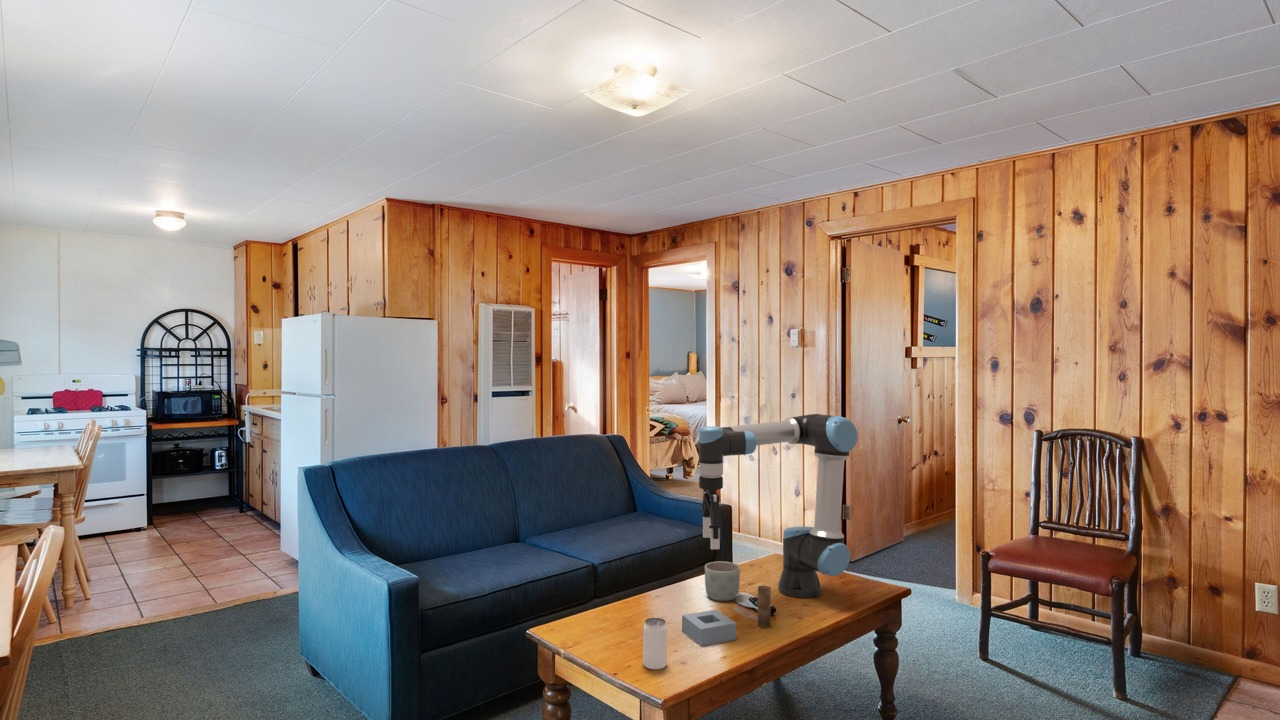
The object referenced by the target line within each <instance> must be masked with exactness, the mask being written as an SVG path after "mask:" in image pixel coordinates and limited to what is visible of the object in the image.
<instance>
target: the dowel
mask: <svg viewBox="0 0 1280 720" xmlns="http://www.w3.org/2000/svg"><path fill="white" fill-rule="evenodd" d="M771 589H772V587H771V586H770V585H759V586H758V587H757V627H758V628H762V629H770V628H771V617H772V616H771V613H772V612H771V611H772V610H771V608H772V607H771V605H772V604H771V603H772V596H771V595H772V593H771V592H772V590H771Z"/></svg>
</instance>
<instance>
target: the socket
mask: <svg viewBox="0 0 1280 720" xmlns="http://www.w3.org/2000/svg"><path fill="white" fill-rule="evenodd" d="M681 631H682V633H684V635H686V636H687V637H689V638H690V639H691V640H692V641H694V642H695V643H696V644H697V645H698V646H700V647H704V646H710V645H715V644H721V643H726V642H732V641H736V640H737V622H735V621H734V620H733V619H731V618H729V617H728V616H727V615H726V614H724V613H722V612H720V611H719V610H718V609H711V610H704V611H699V612H692V613H685V614H682V615H681Z"/></svg>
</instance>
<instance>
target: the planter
mask: <svg viewBox="0 0 1280 720" xmlns="http://www.w3.org/2000/svg"><path fill="white" fill-rule="evenodd" d="M740 577H741V567H740V565H738V564H736V563H734V562H730V561H718V560H717V561H713V562H712V561H711V562H708V563H706V564H704V581H705V582H704V583H705V584H704V585H705V592H706V595H707V596H708V597H709V598H710V599H712V600H714V601H719V602H729V601H732V600H734V599H736V598H735V596H736V595H737V594H738V595H739V592H740V582H741V581H740V579H741V578H740ZM738 595H737V596H738Z"/></svg>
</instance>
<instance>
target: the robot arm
mask: <svg viewBox="0 0 1280 720" xmlns="http://www.w3.org/2000/svg"><path fill="white" fill-rule="evenodd" d="M858 439H859V437H858V430H857V427H856V426H855V424H854V423H853V421H851V420H850V419H849V418H847V417H843V416H840V415H831V414H830V415H829V414H821V413H810V414H804V415H798V416H791V417H786V418H785V419H784V420H780V421H779V420H778V421H773V422H772V421H771V422H770V421H769V422H761V423H752V424H751V423H750V424H742V425H732V426H722V427H721V426H716V425H715V426H714V425H712V426H711V425H710V426H701V427H700V428H699V432H698V460H699V461H698V462H699V463H698V464H699V465H697V466H696V467H697V469H698V470H699V471H698V473H699V477H698V487H699V488H700V490H701V489H702V491H703V492H702V493H703V494H702V495H703V496H702V505H701V506H702V507H701V513H702V538H705V539H706V538H707V539H708V538H710V550H720V549H721V547H720V544H721V542H720V540H721V537H720V536H721V534H720V533H721V532H720V531H721V528H722V523H721V522H722V521H721V520H722V519H721V509H720V495H719V494H717V491H718V490H722V489H723V487H724V477H723V475H724V457H728V456H742V455H743V456H746V455H751V454H753V453H754V452H755V451H756V448H757V446H765V445H770V444H771V445H772V444H782V443H788V444H790V445H796V444H797V445H798V444H799V445H804V446H805V445H806V446H811V447H812V446H813V447H814V454H815V456H816V457H817V459H818V461H817V463H818V464H817V479H816V492H815V493H816V496H815V497H816V498H815V512H814V513H815V514H814V527H812V526H790V527H787V528H785V529H784V531H783V537H782V561H783V562H782V571H781V574H780V577H779V581H778V583H777V588H778V589H777V590H778V592H779V593H781V594H782V595H784V596H788V597H793V598H799V599H810V598H815V597H818V596H820V595H821V594H822V586H821V583H820V580H819V577H818V573H817V572H819V573H820V574H822V575H826V576H830V577H837V576H839V575H841V574H843V572H844V571H845V570H846V569H847V568H848V567H849V564H850V561H851V551H850V549H849V547H848V546H847V545H846V544H845V543H844V542H845V535H844V534H843V532H842V531H841V521H842V520H841V518H842V501H843V488H844V487H843V486H844V469H845V461H846V460H847V459H849V457H850V451H852V450H854V449H855V446H857V443H858Z"/></svg>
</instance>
